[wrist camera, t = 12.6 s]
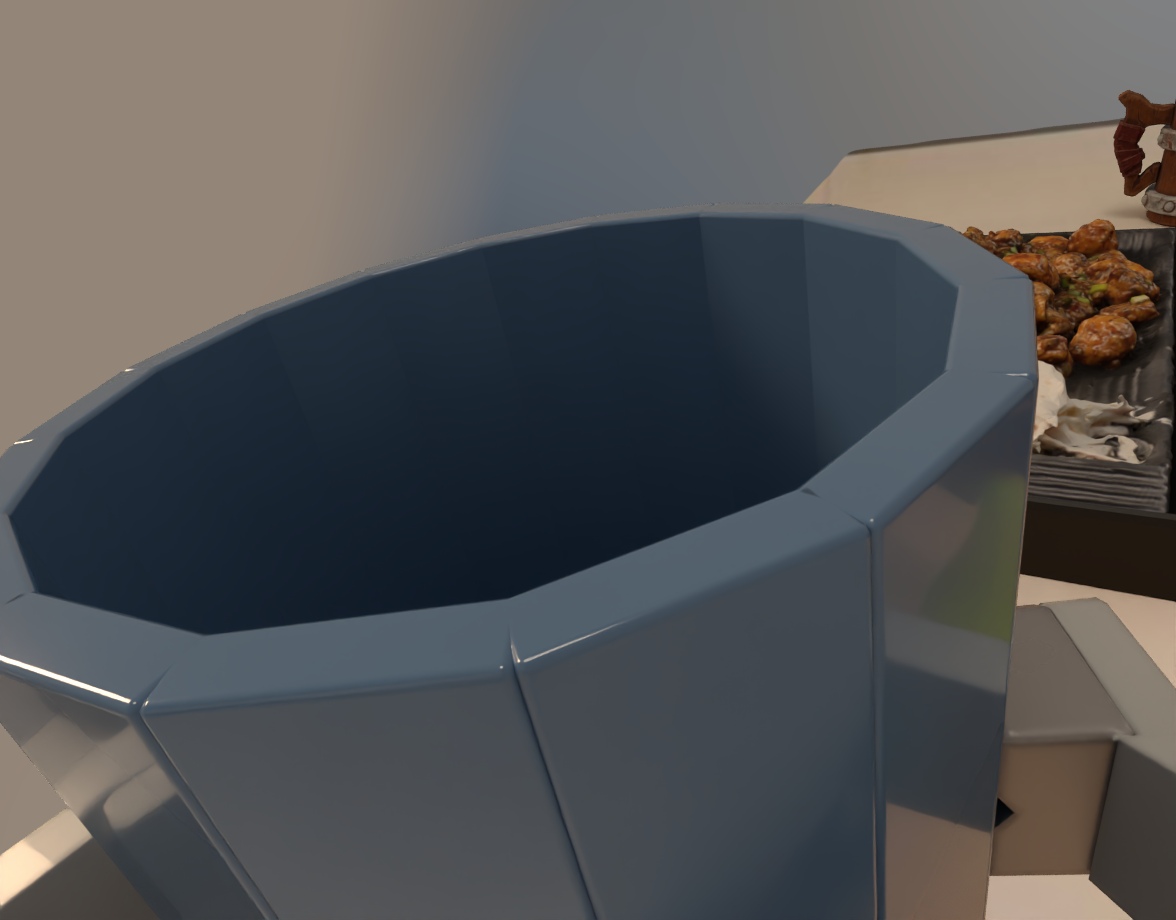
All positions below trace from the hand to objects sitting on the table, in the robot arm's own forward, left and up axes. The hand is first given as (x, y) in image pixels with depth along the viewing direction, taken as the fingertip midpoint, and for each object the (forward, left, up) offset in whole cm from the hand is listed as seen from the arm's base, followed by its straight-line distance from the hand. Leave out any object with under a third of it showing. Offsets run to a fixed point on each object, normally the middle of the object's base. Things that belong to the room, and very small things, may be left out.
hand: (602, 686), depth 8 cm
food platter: (+24, +48, -22) cm, 58 cm away
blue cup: (0, -1, -5) cm, 6 cm away
